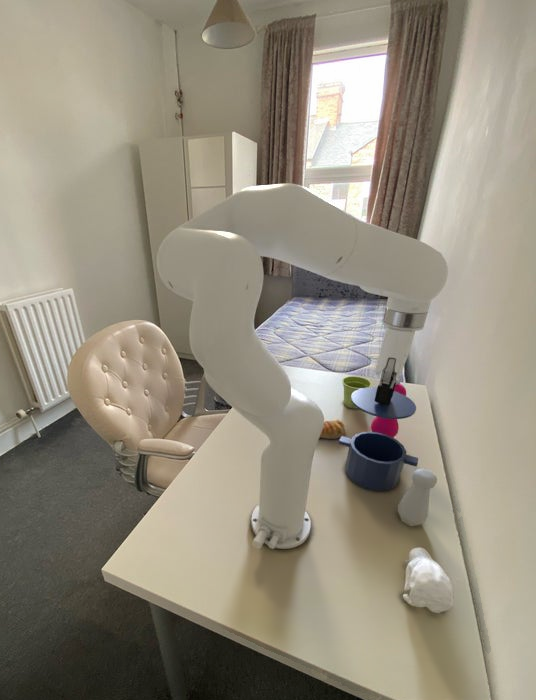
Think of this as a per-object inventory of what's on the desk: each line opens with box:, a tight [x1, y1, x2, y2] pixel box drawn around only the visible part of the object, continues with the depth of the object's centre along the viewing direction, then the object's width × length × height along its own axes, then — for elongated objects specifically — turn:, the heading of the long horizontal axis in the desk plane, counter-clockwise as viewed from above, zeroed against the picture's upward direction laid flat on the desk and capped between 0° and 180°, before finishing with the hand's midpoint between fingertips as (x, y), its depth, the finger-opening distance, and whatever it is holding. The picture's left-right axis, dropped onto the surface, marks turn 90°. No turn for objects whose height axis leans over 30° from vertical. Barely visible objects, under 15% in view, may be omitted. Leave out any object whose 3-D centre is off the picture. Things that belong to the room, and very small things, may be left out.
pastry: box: [319, 419, 347, 440], centre depth 99 cm, size 9×7×4 cm
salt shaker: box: [397, 468, 438, 527], centre depth 69 cm, size 6×6×13 cm
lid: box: [351, 387, 417, 420], centre depth 74 cm, size 14×14×6 cm
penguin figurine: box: [402, 546, 455, 614], centre depth 57 cm, size 6×8×12 cm
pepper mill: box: [370, 378, 407, 439], centre depth 92 cm, size 7×7×20 cm
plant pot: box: [341, 375, 373, 409], centre depth 113 cm, size 9×9×9 cm
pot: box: [338, 431, 419, 492], centre depth 83 cm, size 13×18×8 cm
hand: (383, 399), depth 74 cm, fingers closed on lid, 2 cm apart
